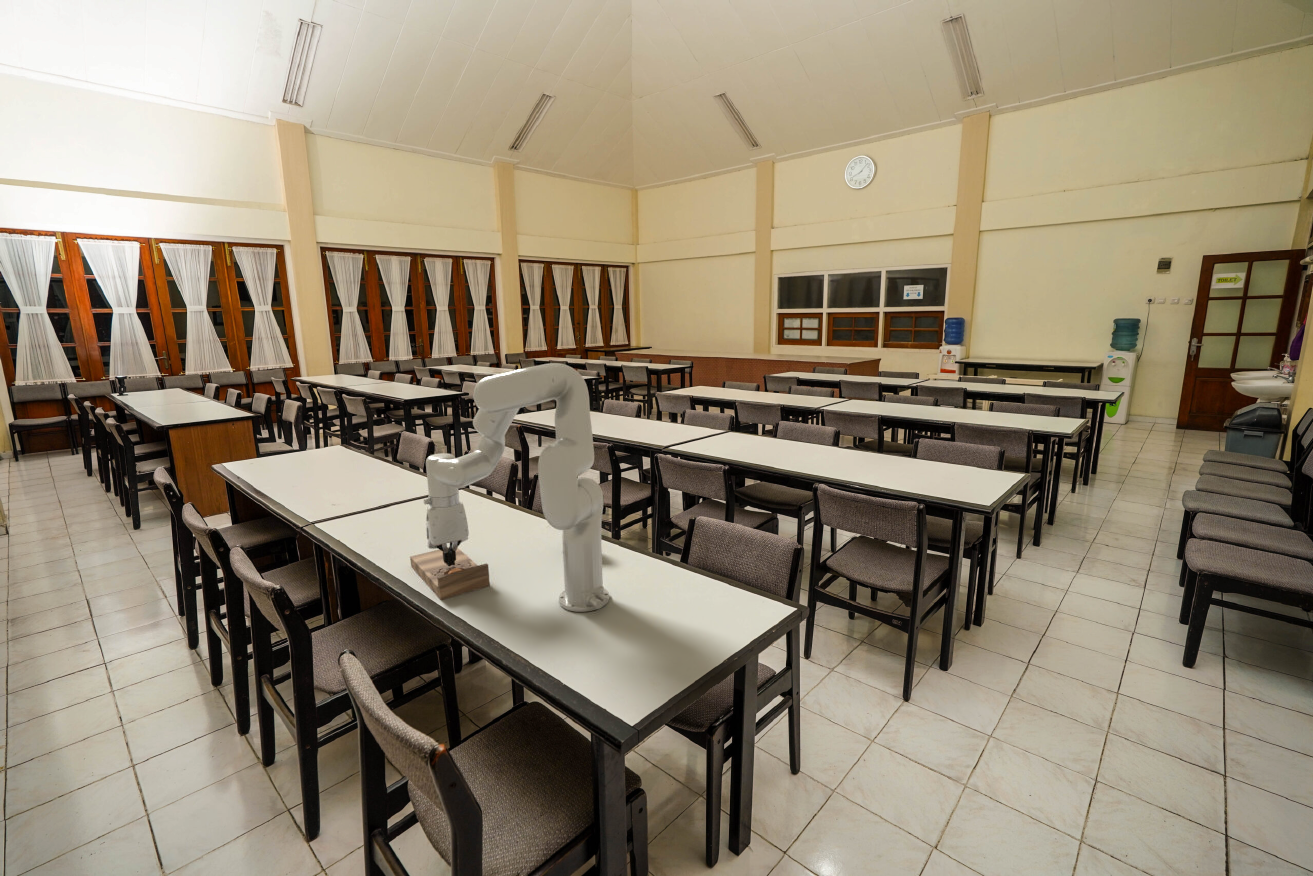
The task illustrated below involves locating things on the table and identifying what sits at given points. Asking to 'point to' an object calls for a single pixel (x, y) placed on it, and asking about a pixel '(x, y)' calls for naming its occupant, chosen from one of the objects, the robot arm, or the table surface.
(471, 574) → the brown piece
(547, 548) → the table surface
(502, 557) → the table surface
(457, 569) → the ball
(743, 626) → the table surface
